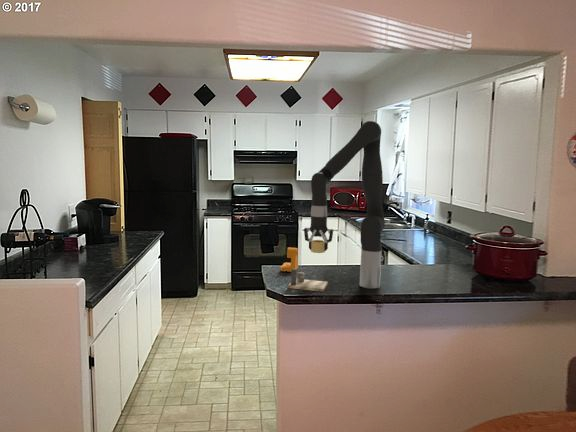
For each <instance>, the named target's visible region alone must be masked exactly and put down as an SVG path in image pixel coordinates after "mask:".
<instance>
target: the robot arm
mask: <svg viewBox="0 0 576 432" xmlns="http://www.w3.org/2000/svg"><path fill="white" fill-rule="evenodd" d="M381 136H382V127H381V125H380V124H379V123H378V122H376V121H374V120H368V121H365V122H363V123H362V125H361V127H360V128H359V129H358V130H357V132H356V133H355V134H354V135H353V137H352V138H351V139H350V140H349V141H348V142H347V143H346V144H345V145H344V146H343V147H342V148H341V149H340V150H338V151H337V152H336V154H335V155H334V156H332V157H331V158H330V159H329V160H328V161H327V163H325V165H324V166H323V167H322V168H321V169H320V170H319V171H318V172H316V173H314V174H313V175H312V177H311V180H310V181H311V182H310V185H311V186H310V187H311V194H312V195H311V210H310V227H304V228H303V234H304V240H305V241H307V242H308V249H309V250H310V251H311V241H312V240H314V238H315V237H319V238H322V240H323V241H324V242H325V243H324V251H325V252H326V251H327V250H328V248H329V245H328V244H329V243H331V242H332V240H333V237H334V236H333V235H334V229H333V228H328V226H327V225H328V196H327V193H326V192H327V184H329V183H330V181H331V180H333V178H334V177H335V176H336V175H338V174H339V173H340V172H341V171H342V170H343V169H344V168H345V167H346V166H347V165H348V164H349V163H350V162H351V161H352V160H353V158H355V156H356V155H357V154H358V153H359V152H360V151H362V149H363V158H362V165H361V167H362V168H361V185H362V192H363V194H364V198H365V202H366V216H365V217H364V218H363V219H362V221H361V224H360V225H361V226H360V246H361V248H360V249H361V251H360V252H361V253H360V268H359V270H360V271H359V286H360V287H362V288H364V289H380V287H381V272H382V271H381V270H382V251H383V244H382V243H381V241H382V240H381V239H382V238H381V236H382V235H381V234H382V231H384V229H385V225H386V222H385V220H386V219H385V214H384V207H383V197H384V195H383V186H384V185H383V184H384V183H383V177H384V176H383V168H382V167H383V165H382V159H381V138H382V137H381ZM309 232H311V235H310V237H309ZM326 233H328V235H329V236H328V237H327V235H326Z"/></svg>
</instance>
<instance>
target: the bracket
mask: <svg viewBox="0 0 576 432" xmlns="http://www.w3.org/2000/svg"><path fill="white" fill-rule="evenodd" d="M286 257H287V259H290V262H283V264H282V265H281V266H280V272H286V271H287V273H288V272H290V273H291V269H296V270H297V271H298V268H299V249H298V248H297V247H290V246H289V247H287V250H286Z"/></svg>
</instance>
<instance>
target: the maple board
mask: <svg viewBox="0 0 576 432" xmlns="http://www.w3.org/2000/svg"><path fill="white" fill-rule="evenodd" d="M297 271H298V269H297V270H296V269H291V272H290V282H289V283H288V285H287V289H293V290H294V289H295V290H296V289H297V290H302V291H303V290H304V291H314V292H322V293H323V292H324V291H325V289H326V288H327V286H328V284H329V283H328V282H329V281H325V280H313V279H305V272H303V271H299V272H297Z"/></svg>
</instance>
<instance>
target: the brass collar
mask: <svg viewBox="0 0 576 432" xmlns="http://www.w3.org/2000/svg"><path fill="white" fill-rule="evenodd" d="M324 243H325V242H324V240H323V239H315V240H314V239H313V240H312V241H311V250H310V252H311V253H313V254H314V253H316V254H322V253H325V252H326V251H324Z"/></svg>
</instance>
